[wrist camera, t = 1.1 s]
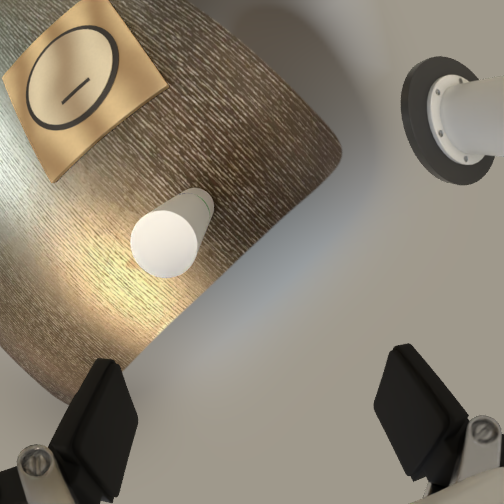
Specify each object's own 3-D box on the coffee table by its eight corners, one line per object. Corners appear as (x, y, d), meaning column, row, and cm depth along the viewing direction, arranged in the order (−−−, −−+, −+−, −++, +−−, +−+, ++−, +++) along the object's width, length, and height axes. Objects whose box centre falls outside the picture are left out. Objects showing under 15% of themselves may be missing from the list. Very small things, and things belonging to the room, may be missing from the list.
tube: (208, 230, 33) (188, 285, 18) (171, 220, 32) (125, 267, 18) (218, 193, 32) (205, 221, 17) (181, 183, 31) (137, 202, 17)
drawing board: (101, -10, 22) (97, -15, 20) (169, 87, 28) (166, 83, 26) (5, 78, 24) (-1, 76, 23) (55, 182, 30) (49, 184, 28)
